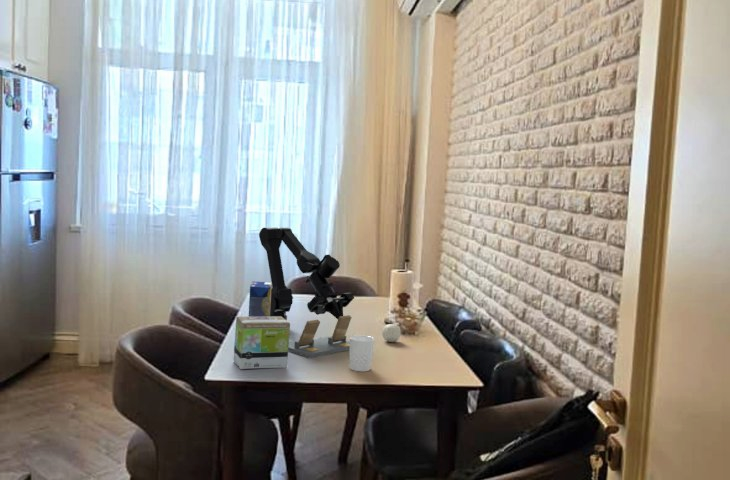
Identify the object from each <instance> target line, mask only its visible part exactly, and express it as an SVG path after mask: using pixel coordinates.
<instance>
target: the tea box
mask: <svg viewBox="0 0 730 480" xmlns="http://www.w3.org/2000/svg"><path fill="white" fill-rule="evenodd" d="M290 329H291V322H289V321H288V319H287V320H285V319H284V318H283V317H282V316H260V317H249V316H236V320H235V332H234V333H235V334H234V346H233V348H234V349H233V362H234V364H235V365H236V366H237V367H238V366H239V367H238V368H239V369H240V370H246V369H247V370H249V369H280V368H281V369H282V368H283V369H286V368H287V367H288V360H289V359H288V357H289V351H288V345H289V344H290V333H291V332H290V331H291V330H290Z"/></svg>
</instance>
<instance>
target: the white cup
mask: <svg viewBox="0 0 730 480" xmlns="http://www.w3.org/2000/svg"><path fill="white" fill-rule="evenodd" d="M349 342H350V348H349V350H348V351H349V357H348V358H349V369H350V370H352V371H355V372H368V371H371V370H372V369H371V368H372V361H373V355H374V349H375V347H374V345H375V338H374V337H373V336H369V335H363V334H356V335H350V336H349Z"/></svg>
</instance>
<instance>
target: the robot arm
mask: <svg viewBox="0 0 730 480" xmlns="http://www.w3.org/2000/svg"><path fill="white" fill-rule="evenodd" d="M258 236H259V241H260V244H261V245H262V247H263V248H264V250H265V251H266V257H267V264H268V268H269V275H270V280H271V281H270V282H272V290H271V309H270V316H282V317H283V318H284V319H285V320H287V321H288V315H287V313H289V312H290V311H291V308H292V304H293V303H294V302H293V299H294V297H293V290H292V289H291V288H288V287H287V285H286V282H285V277H284V269H283V264H282V258H281V252H280V248H281V246H282V243H283V244H284V245H285V246H286V247H287V249H288V250H289V251H290V253H291V254H292V256H294V258H295V259H296V265H297V268H298V269H299V271H300V272H301V273H302V274H310V273H311V274H310V275H306V280H305V284H306V285H307V284H311V286H312V287H313V288H314V291H315V292H314V296H313V297H312V298H311V300H310V301H309V302H307V304H306V306H307V309H308V311H309V312H310V313H315V314H316V315H324V314H325V313H330V315H331V316H333V317H334V318H335V319H337V320H338V318H339V317H340V316H344V308H346V307H348V305H350V303H351V302H352V301H353V300H354V299H355V296H354V295H353V293H352V292H344V293H341V295H340V296H339V297H338V295H339V291H335V290H334V288H333V286H334V284H333V283H332V282H329V280H328V279H330V278H331V277H333V275H334V274H335V273H336V272H337V270H338V269H340V266H341V265H340V262H339V260H338V259H336V258H335V257H333V256H332V255H331V254H325V255H324V256H323V258H322V259H321V260H320V258H319V257H318V256H316V254H314V253H312V252H310V251H308V249H306V247H304V245H303V244H302V242H300V240H299V238H298V237H297V236H296V235H295V234H294V233H293V230H292V229H291V228H290V227H279V228H278V227H277V226H276V227H262V228H261V229H260V231H259V233H258Z"/></svg>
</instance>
